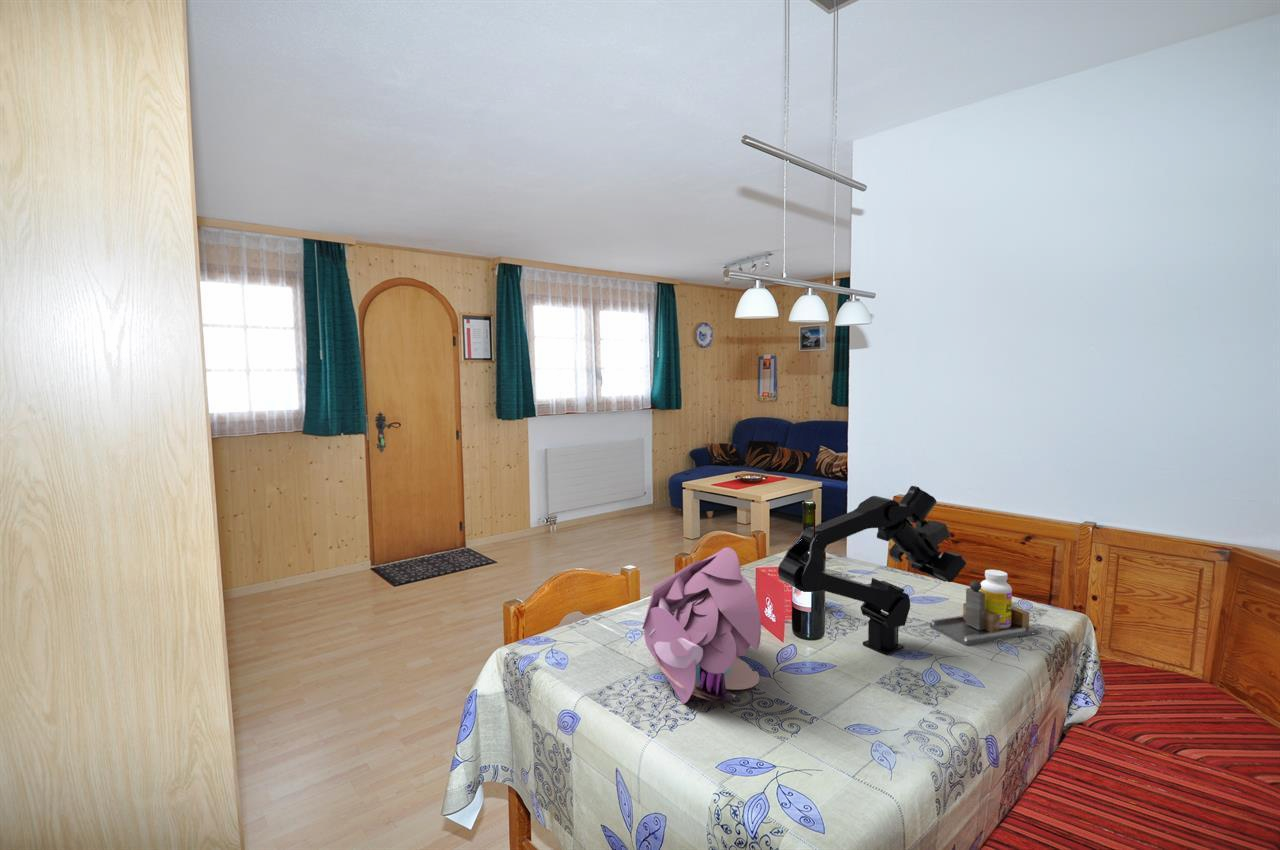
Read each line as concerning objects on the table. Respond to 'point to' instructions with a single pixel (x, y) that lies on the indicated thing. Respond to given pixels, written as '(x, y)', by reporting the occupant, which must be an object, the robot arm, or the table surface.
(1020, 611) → the bench clamp
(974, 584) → the sliding jaw
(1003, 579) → the supplement bottle
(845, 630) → the table surface
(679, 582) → the flower arrangement
